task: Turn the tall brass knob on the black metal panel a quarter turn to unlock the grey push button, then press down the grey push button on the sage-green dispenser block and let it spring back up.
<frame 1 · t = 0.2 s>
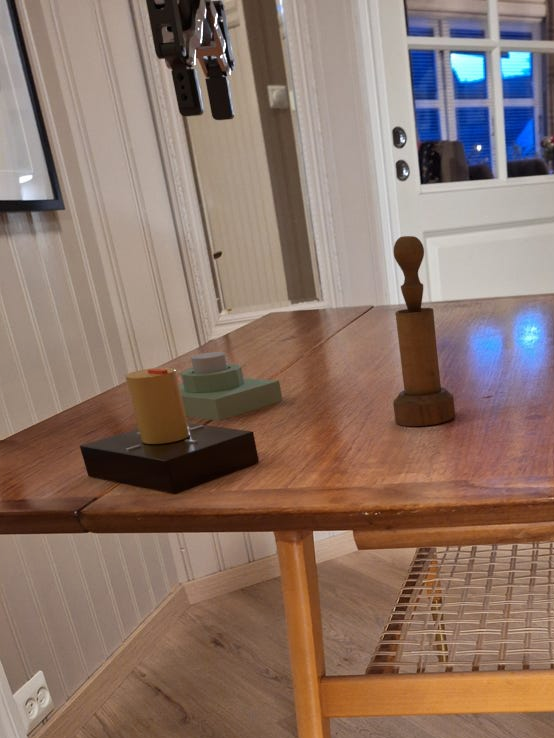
hand: (208, 117, 87), 30 cm above the table, tool pointing down, fingers open, 8 cm apart
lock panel: (173, 469, 83), on the table
lock knob: (158, 404, 80), point 6 cm above the table, hinge at 0.0°
mortar and pestle: (425, 420, 94), on the table
grey push button: (209, 364, 104), point 5 cm above the table, slide at 0.1 cm
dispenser: (218, 407, 106), on the table
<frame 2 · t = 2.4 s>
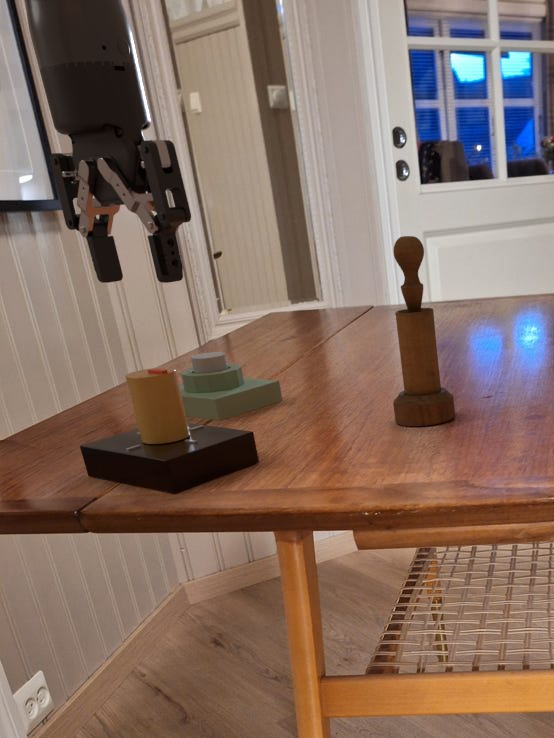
hand: (140, 281, 77), 17 cm above the table, tool pointing down, fingers open, 8 cm apart
nothing on the table moved.
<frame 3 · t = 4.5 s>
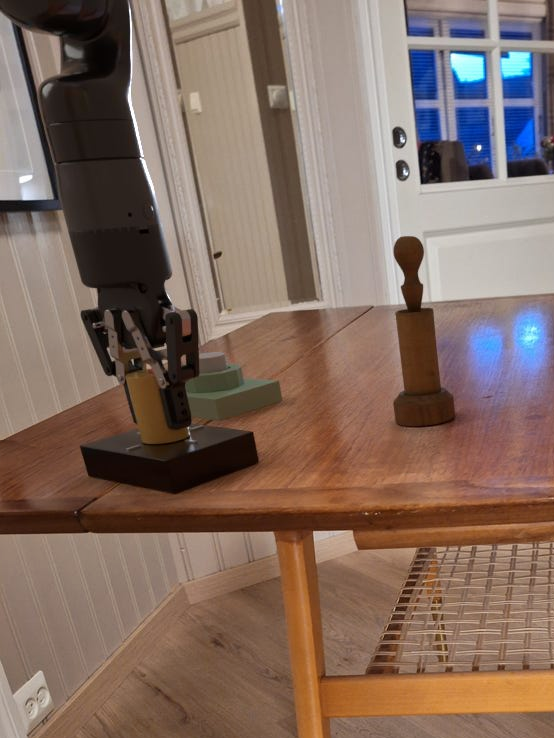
hand: (163, 424, 81), 4 cm above the table, tool pointing down, fingers closed on lock knob, 4 cm apart
lock knob: (158, 404, 80), point 6 cm above the table, hinge at 0.0°, touching gripper
everything else where it was.
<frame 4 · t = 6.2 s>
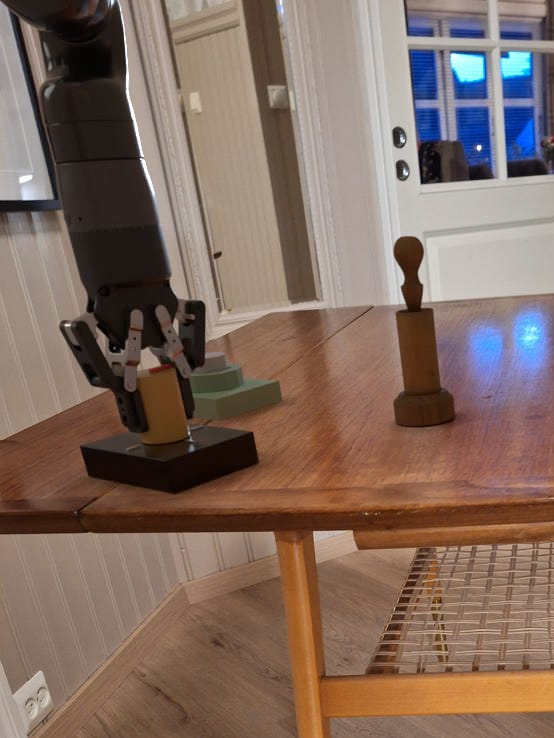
hand: (162, 424, 81), 4 cm above the table, tool pointing down, fingers closed on lock knob, 4 cm apart
lock knob: (158, 404, 80), point 6 cm above the table, hinge at 92.5°, touching gripper
everything else where it was.
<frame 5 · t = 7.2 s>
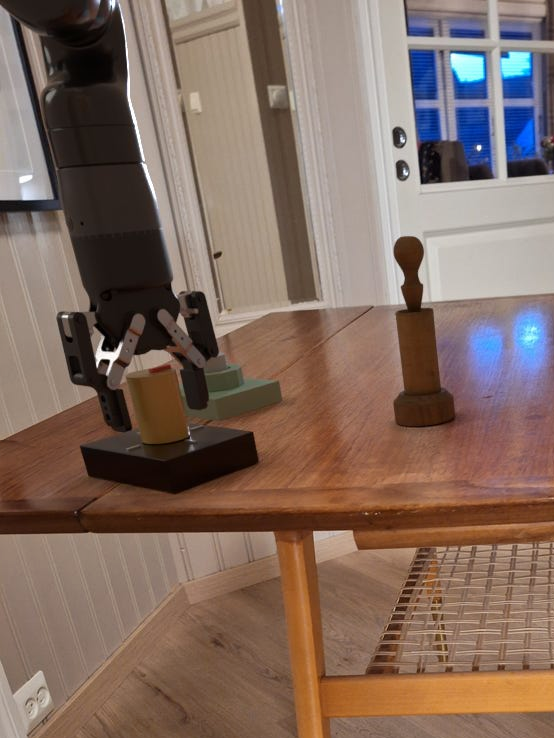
hand: (162, 419, 81), 5 cm above the table, tool pointing down, fingers open, 8 cm apart
lock knob: (158, 404, 80), point 6 cm above the table, hinge at 92.6°
everything else where it was.
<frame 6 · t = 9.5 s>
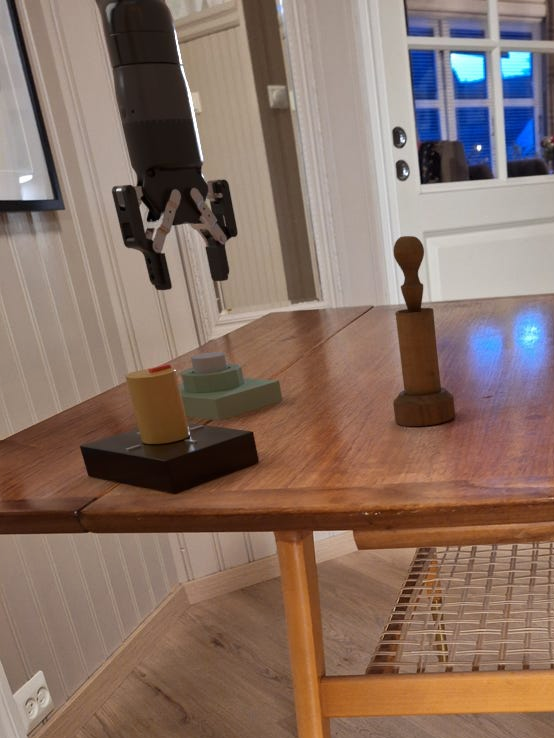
hand: (193, 284, 99), 14 cm above the table, tool pointing down, fingers open, 7 cm apart
nothing on the table moved.
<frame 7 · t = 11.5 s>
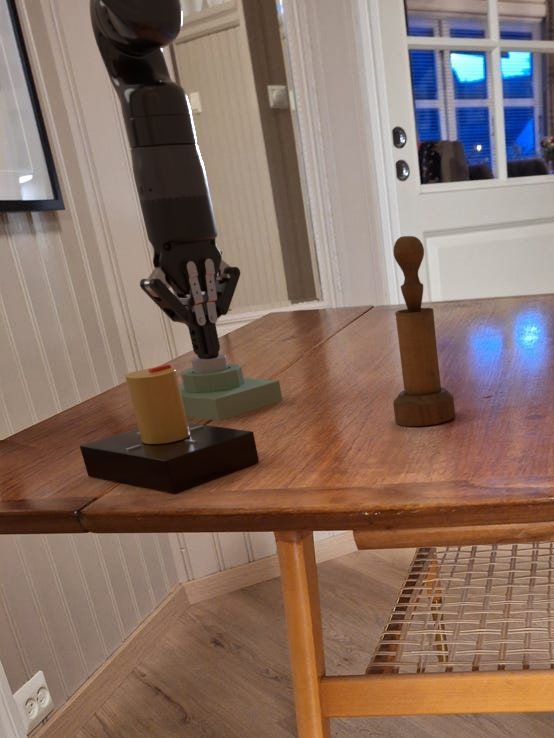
hand: (208, 357, 103), 6 cm above the table, tool pointing down, fingers closed
grey push button: (210, 366, 104), point 5 cm above the table, slide at -0.2 cm, touching gripper
everything else where it was.
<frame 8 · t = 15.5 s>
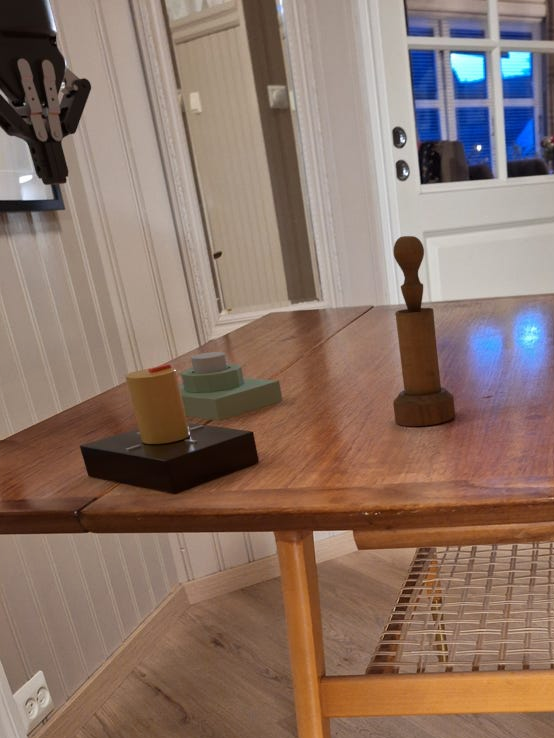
hand: (55, 183, 90), 25 cm above the table, tool pointing down, fingers closed
grey push button: (209, 364, 104), point 5 cm above the table, slide at 0.1 cm
everything else where it was.
at the end: lock knob at +93° (first picture: +0°); grey push button pushed in 1.3 cm at the most during the clip, back to where it started at the end; grey push button slide at 0.1 cm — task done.
